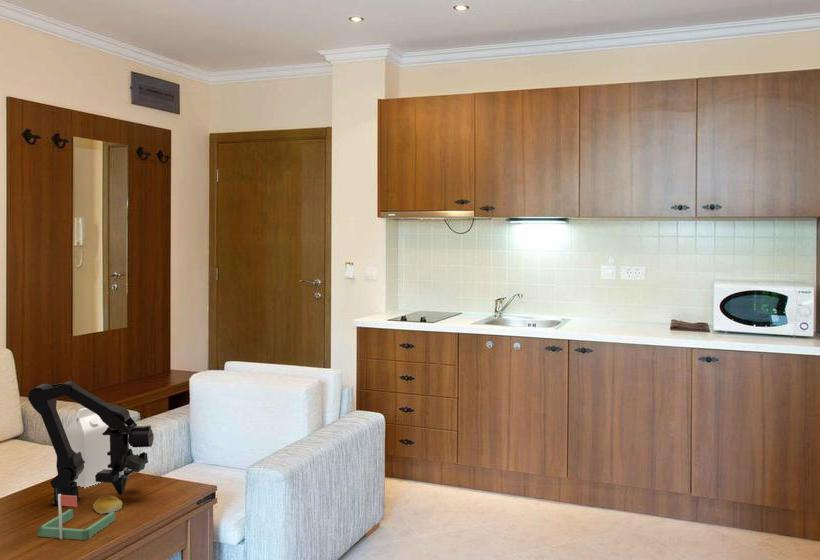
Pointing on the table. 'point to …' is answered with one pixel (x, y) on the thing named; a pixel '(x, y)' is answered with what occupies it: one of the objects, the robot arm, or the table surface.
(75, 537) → the mini golf green
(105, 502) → the bread roll
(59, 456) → the robot arm
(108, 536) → the table surface
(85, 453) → the milk
